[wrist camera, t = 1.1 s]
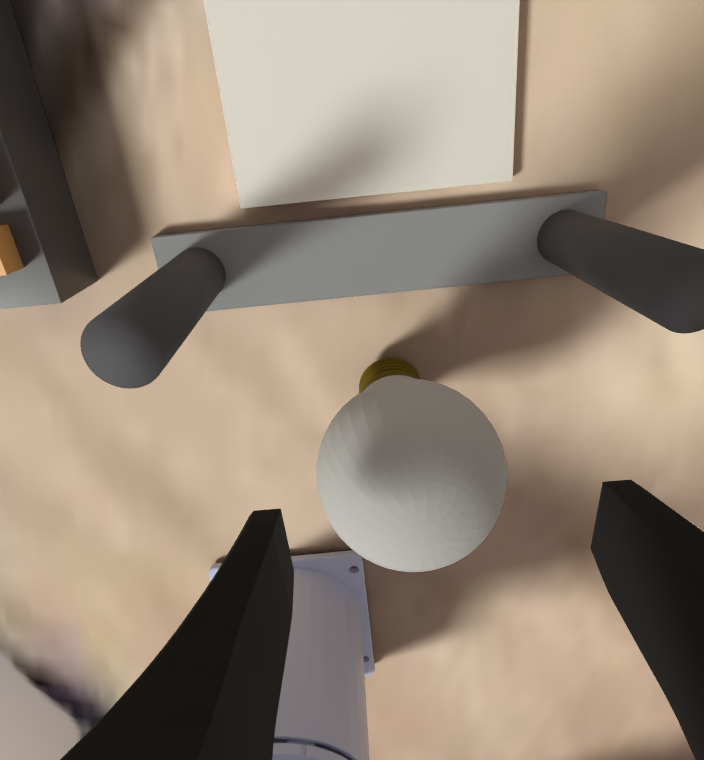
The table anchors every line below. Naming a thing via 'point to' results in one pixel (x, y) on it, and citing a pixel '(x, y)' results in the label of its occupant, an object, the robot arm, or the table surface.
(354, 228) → the cable posts
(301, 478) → the table surface
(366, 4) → the mat
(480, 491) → the light bulb
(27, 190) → the terminal block
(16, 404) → the table surface
